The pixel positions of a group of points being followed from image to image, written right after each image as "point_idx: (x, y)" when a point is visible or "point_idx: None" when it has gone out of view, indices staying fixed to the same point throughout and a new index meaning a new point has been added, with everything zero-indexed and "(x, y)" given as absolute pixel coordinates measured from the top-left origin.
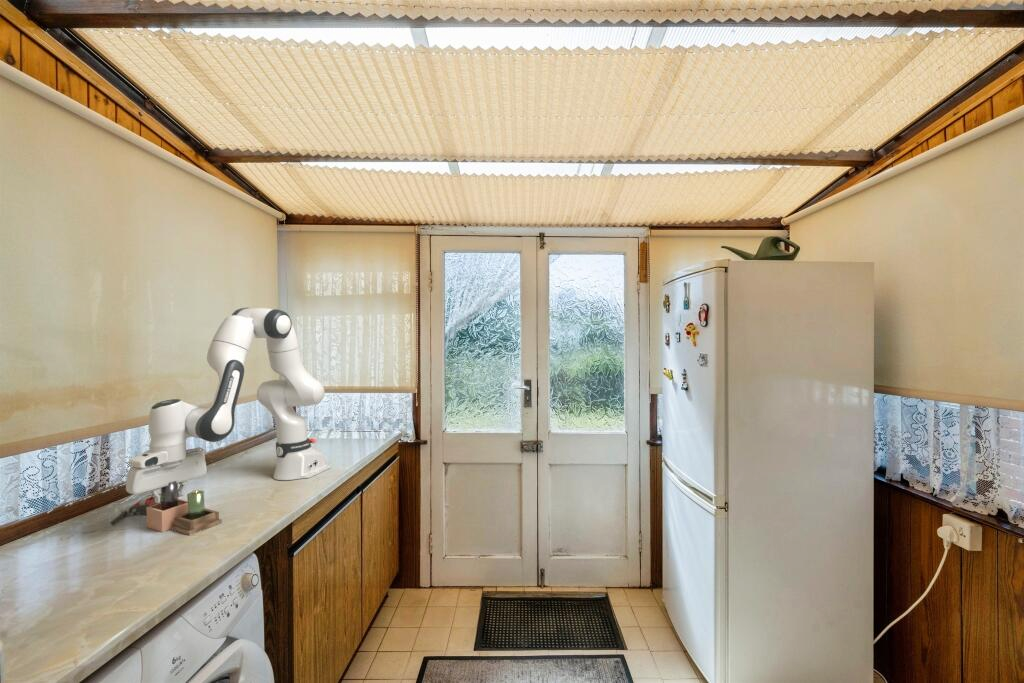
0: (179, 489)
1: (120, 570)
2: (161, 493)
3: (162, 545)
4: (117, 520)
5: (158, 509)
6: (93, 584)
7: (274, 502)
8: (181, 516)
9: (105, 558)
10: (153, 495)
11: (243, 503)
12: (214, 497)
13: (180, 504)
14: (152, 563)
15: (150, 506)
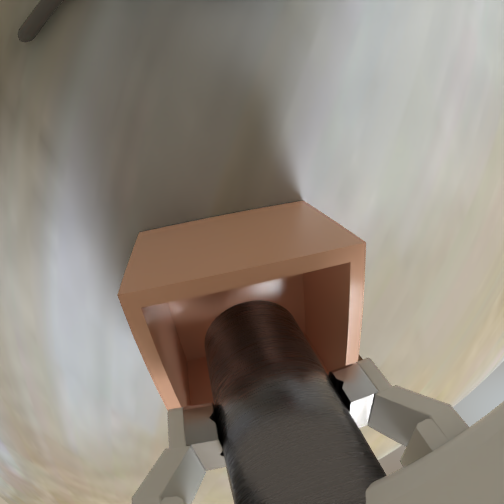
0: (377, 410)
1: (73, 477)
2: (226, 467)
3: (158, 448)
4: (58, 4)
5: (179, 402)
6: (41, 481)
7: (483, 339)
8: None
9: (23, 413)
10: (158, 469)
11: (476, 277)
12: (483, 90)
13: (333, 301)
14: (129, 491)
15: (146, 302)
